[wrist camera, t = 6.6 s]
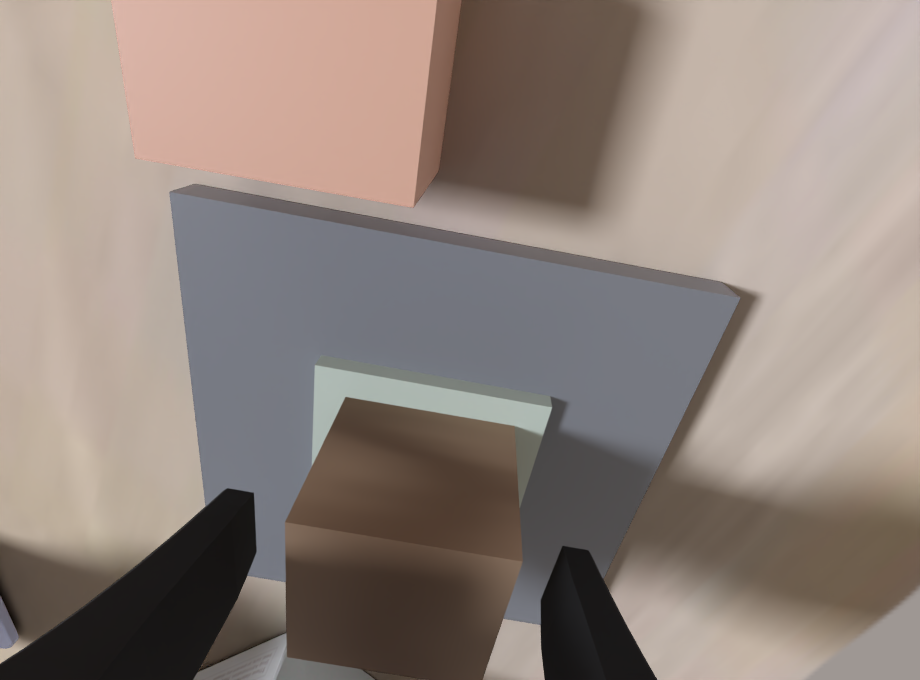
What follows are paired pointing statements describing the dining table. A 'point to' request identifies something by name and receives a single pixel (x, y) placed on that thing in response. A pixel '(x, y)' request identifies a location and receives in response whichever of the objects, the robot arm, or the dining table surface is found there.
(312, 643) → the walnut block
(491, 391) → the slate baseplate
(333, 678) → the supplement box
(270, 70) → the terracotta block
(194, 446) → the dining table surface
